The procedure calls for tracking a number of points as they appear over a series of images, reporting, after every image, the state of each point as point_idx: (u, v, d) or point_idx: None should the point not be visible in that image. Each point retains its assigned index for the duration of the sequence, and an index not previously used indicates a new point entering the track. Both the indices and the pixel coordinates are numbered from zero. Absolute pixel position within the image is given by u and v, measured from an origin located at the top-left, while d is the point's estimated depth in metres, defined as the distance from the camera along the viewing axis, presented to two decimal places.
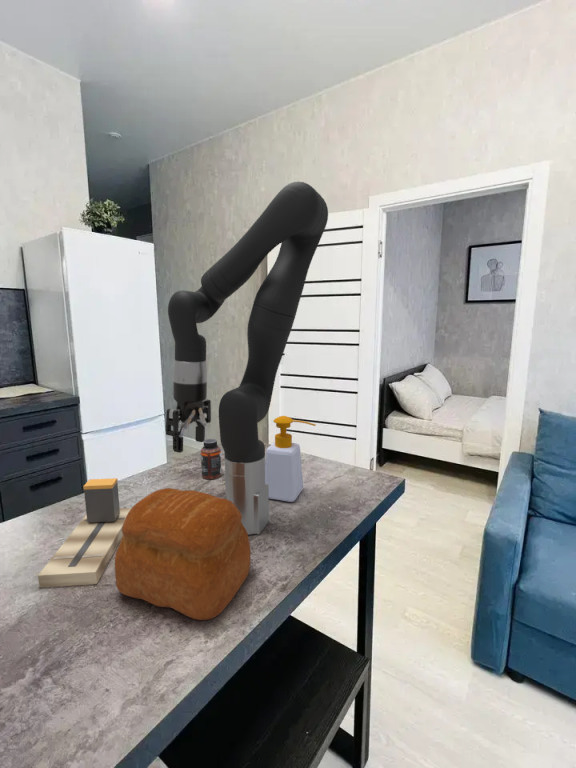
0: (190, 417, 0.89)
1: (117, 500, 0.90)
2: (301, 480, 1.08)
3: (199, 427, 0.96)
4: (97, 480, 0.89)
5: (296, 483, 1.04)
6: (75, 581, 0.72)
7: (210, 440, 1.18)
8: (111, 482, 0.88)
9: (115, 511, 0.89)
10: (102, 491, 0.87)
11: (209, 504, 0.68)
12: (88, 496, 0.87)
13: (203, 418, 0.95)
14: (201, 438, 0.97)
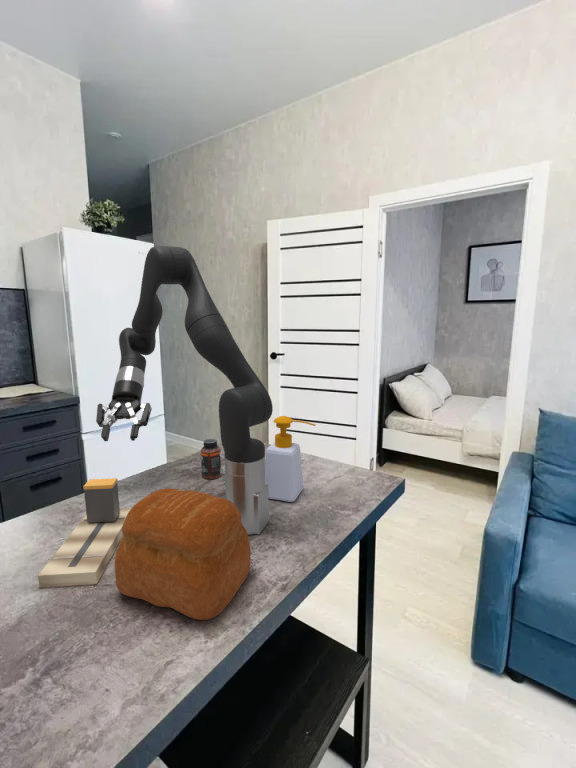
0: (114, 408, 1.04)
1: (117, 500, 0.90)
2: (301, 480, 1.08)
3: None
4: (97, 480, 0.89)
5: (296, 483, 1.04)
6: (75, 581, 0.72)
7: (210, 440, 1.18)
8: (111, 482, 0.88)
9: (115, 511, 0.89)
10: (102, 491, 0.87)
11: (209, 504, 0.68)
12: (88, 496, 0.87)
13: (131, 414, 1.04)
14: None
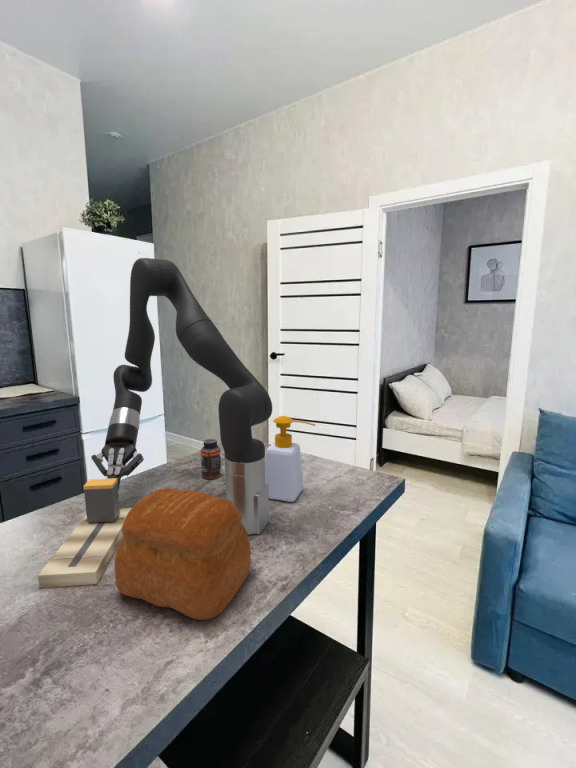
0: (110, 455, 0.98)
1: (117, 500, 0.90)
2: (301, 480, 1.08)
3: None
4: (97, 480, 0.89)
5: (296, 483, 1.04)
6: (75, 581, 0.72)
7: (210, 440, 1.18)
8: (111, 482, 0.88)
9: (115, 511, 0.89)
10: (102, 491, 0.87)
11: (209, 504, 0.68)
12: (88, 496, 0.87)
13: (118, 462, 0.98)
14: None
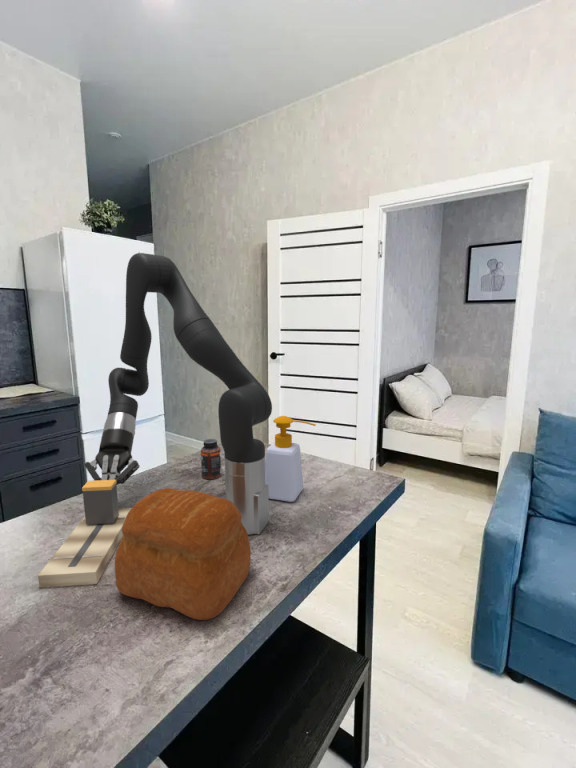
0: (105, 463, 0.94)
1: (116, 502, 0.90)
2: (301, 480, 1.08)
3: None
4: (96, 481, 0.88)
5: (296, 483, 1.04)
6: (75, 581, 0.72)
7: (210, 440, 1.18)
8: (110, 483, 0.87)
9: (114, 513, 0.88)
10: (101, 493, 0.86)
11: (209, 504, 0.68)
12: (87, 497, 0.86)
13: (112, 469, 0.93)
14: None
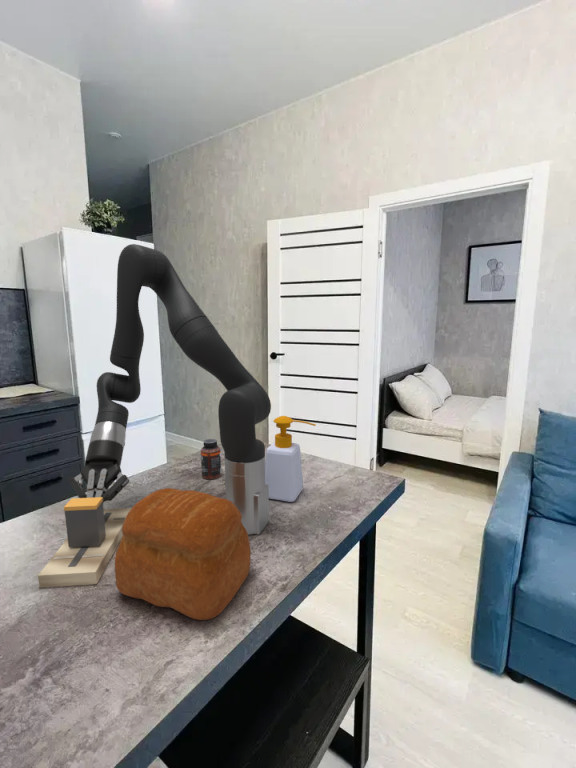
0: (91, 477, 0.86)
1: (102, 521, 0.81)
2: (301, 480, 1.08)
3: None
4: (80, 499, 0.80)
5: (296, 483, 1.04)
6: (75, 581, 0.72)
7: (210, 440, 1.18)
8: (95, 502, 0.79)
9: (100, 534, 0.80)
10: (85, 513, 0.78)
11: (209, 504, 0.68)
12: (69, 518, 0.78)
13: (99, 485, 0.85)
14: None
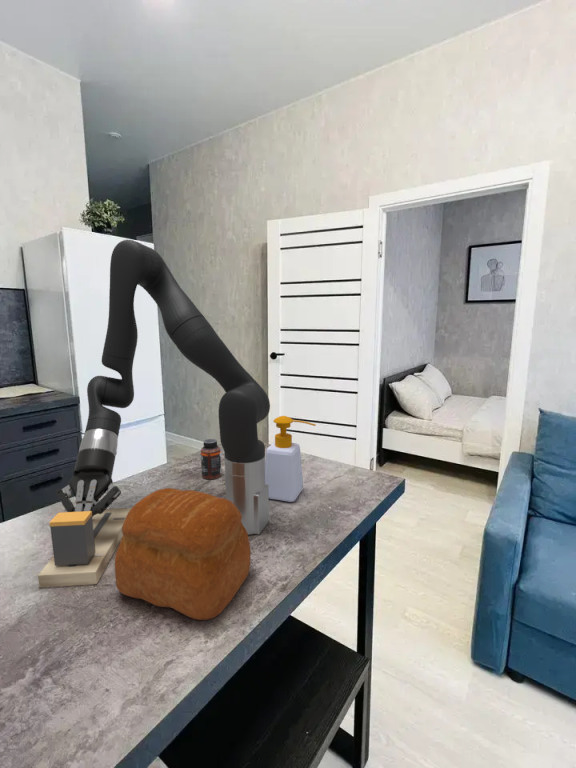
0: (79, 489, 0.80)
1: (91, 537, 0.75)
2: (301, 480, 1.08)
3: None
4: (67, 514, 0.74)
5: (296, 483, 1.04)
6: (75, 581, 0.72)
7: (210, 440, 1.18)
8: (84, 517, 0.73)
9: (89, 551, 0.74)
10: (72, 528, 0.72)
11: (209, 504, 0.68)
12: (55, 534, 0.72)
13: (88, 498, 0.79)
14: None
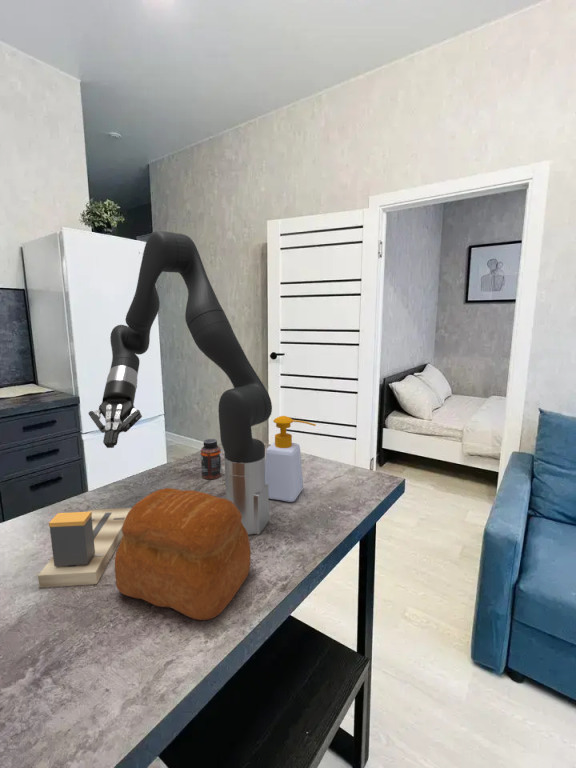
0: (108, 411, 0.97)
1: (91, 538, 0.75)
2: (301, 480, 1.08)
3: None
4: (67, 514, 0.74)
5: (296, 483, 1.04)
6: (75, 581, 0.72)
7: (210, 440, 1.18)
8: (83, 517, 0.73)
9: (88, 552, 0.74)
10: (72, 529, 0.72)
11: (209, 504, 0.68)
12: (55, 534, 0.72)
13: (116, 417, 0.96)
14: None
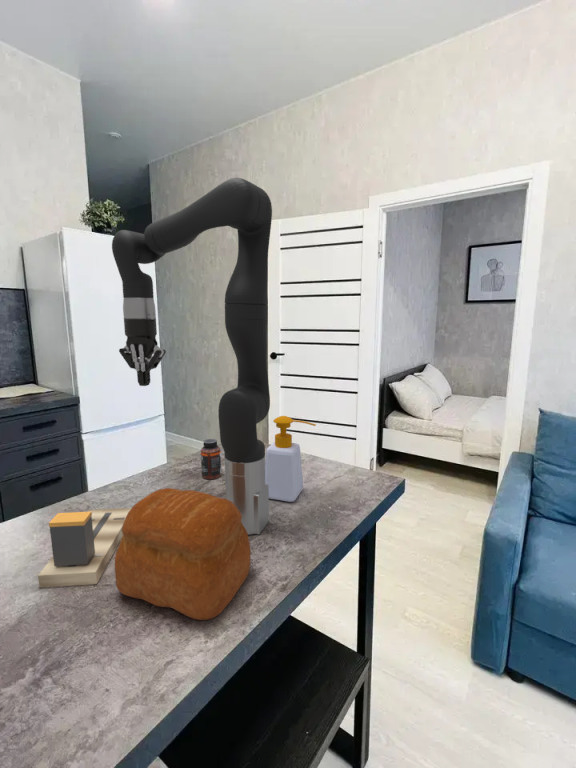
0: (133, 351, 0.97)
1: (91, 538, 0.75)
2: (301, 480, 1.08)
3: None
4: (67, 514, 0.74)
5: (296, 483, 1.04)
6: (75, 581, 0.72)
7: (210, 440, 1.18)
8: (83, 517, 0.73)
9: (88, 552, 0.74)
10: (72, 529, 0.72)
11: (209, 504, 0.68)
12: (55, 534, 0.72)
13: (141, 359, 0.97)
14: None
